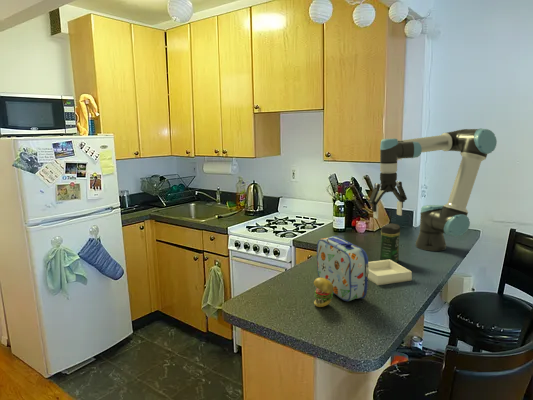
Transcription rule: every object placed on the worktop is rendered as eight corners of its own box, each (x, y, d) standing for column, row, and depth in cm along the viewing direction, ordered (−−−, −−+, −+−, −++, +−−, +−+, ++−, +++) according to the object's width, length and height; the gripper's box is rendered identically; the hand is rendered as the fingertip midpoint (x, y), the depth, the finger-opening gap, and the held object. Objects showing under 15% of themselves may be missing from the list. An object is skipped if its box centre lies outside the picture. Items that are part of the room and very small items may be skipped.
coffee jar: (393, 265, 179) (394, 227, 176) (377, 262, 184) (378, 225, 181) (401, 260, 186) (402, 223, 183) (385, 257, 191) (386, 221, 188)
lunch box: (374, 303, 141) (376, 246, 137) (350, 308, 137) (351, 250, 133) (334, 277, 166) (335, 229, 162) (313, 281, 162) (313, 231, 158)
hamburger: (313, 300, 144) (313, 270, 142) (332, 301, 143) (332, 271, 141) (313, 310, 137) (313, 278, 134) (333, 310, 136) (334, 279, 134)
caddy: (389, 267, 177) (389, 259, 176) (411, 280, 162) (411, 271, 161) (357, 271, 173) (357, 263, 172) (377, 285, 157) (377, 276, 157)
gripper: (404, 169, 184) (403, 212, 188) (361, 173, 176) (360, 218, 180) (415, 170, 178) (414, 215, 181) (370, 175, 169) (370, 221, 173)
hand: (387, 216), depth 181 cm, fingers open, 13 cm apart
